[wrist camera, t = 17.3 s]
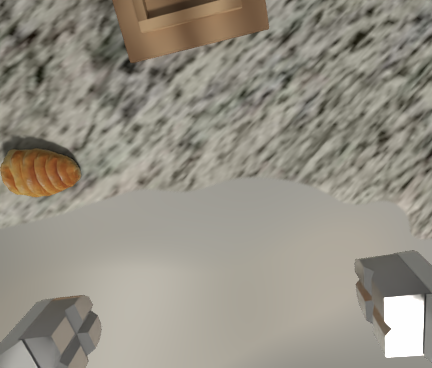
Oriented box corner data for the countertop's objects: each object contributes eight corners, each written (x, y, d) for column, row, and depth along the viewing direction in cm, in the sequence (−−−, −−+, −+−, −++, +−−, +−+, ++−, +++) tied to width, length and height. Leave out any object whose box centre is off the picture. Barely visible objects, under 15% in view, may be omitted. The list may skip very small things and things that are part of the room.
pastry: (76, 143, 38) (60, 150, 35) (88, 190, 41) (74, 201, 37) (11, 147, 39) (-12, 155, 36) (26, 193, 41) (6, 204, 38)
